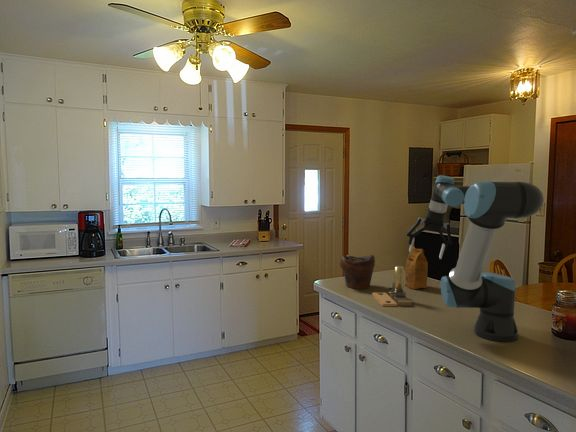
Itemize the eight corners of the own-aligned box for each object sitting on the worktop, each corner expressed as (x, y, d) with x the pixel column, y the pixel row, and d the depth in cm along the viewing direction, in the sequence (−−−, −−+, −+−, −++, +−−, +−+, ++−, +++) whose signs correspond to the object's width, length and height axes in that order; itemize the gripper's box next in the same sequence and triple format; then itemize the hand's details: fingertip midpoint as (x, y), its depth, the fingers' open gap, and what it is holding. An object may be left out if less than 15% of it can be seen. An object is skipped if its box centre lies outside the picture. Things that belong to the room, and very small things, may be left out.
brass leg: (405, 296, 206) (406, 268, 205) (390, 296, 206) (391, 268, 205) (401, 293, 212) (402, 265, 211) (387, 293, 212) (388, 265, 211)
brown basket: (333, 283, 240) (334, 252, 238) (362, 280, 248) (363, 250, 247) (350, 292, 224) (351, 258, 222) (381, 288, 232) (382, 256, 230)
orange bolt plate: (397, 306, 198) (397, 303, 198) (382, 306, 198) (382, 303, 198) (385, 294, 218) (385, 292, 218) (372, 294, 218) (372, 292, 218)
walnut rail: (411, 306, 199) (412, 291, 198) (395, 306, 198) (395, 291, 198) (399, 294, 219) (399, 281, 218) (384, 294, 218) (384, 281, 218)
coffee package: (418, 283, 242) (419, 245, 240) (429, 289, 230) (430, 249, 228) (401, 284, 240) (403, 246, 239) (412, 290, 228) (413, 249, 226)
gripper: (464, 214, 189) (451, 257, 196) (408, 202, 193) (397, 245, 199) (467, 218, 182) (454, 263, 189) (409, 206, 186) (397, 251, 192)
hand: (424, 254), depth 194 cm, fingers open, 13 cm apart
